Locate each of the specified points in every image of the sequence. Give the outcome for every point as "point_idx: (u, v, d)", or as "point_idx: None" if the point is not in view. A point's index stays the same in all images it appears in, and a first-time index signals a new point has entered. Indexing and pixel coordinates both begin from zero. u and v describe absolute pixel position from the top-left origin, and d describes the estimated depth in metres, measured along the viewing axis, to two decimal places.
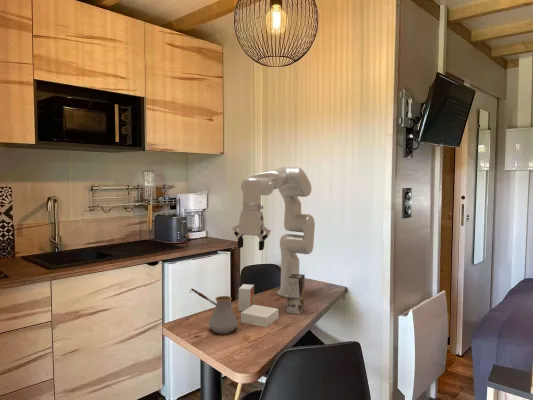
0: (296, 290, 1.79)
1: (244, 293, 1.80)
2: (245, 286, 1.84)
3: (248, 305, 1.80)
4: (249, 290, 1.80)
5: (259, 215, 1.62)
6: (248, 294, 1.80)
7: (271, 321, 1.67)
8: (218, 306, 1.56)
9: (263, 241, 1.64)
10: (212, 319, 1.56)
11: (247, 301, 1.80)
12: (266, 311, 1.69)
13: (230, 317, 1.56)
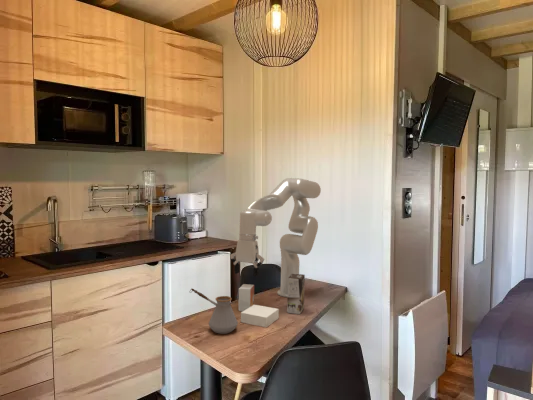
0: (296, 290, 1.79)
1: (244, 293, 1.80)
2: (245, 286, 1.84)
3: (248, 305, 1.80)
4: (249, 290, 1.80)
5: (254, 244, 1.80)
6: (248, 294, 1.80)
7: (271, 321, 1.67)
8: (218, 306, 1.56)
9: (257, 268, 1.81)
10: (212, 319, 1.56)
11: (247, 301, 1.80)
12: (266, 311, 1.69)
13: (230, 317, 1.56)
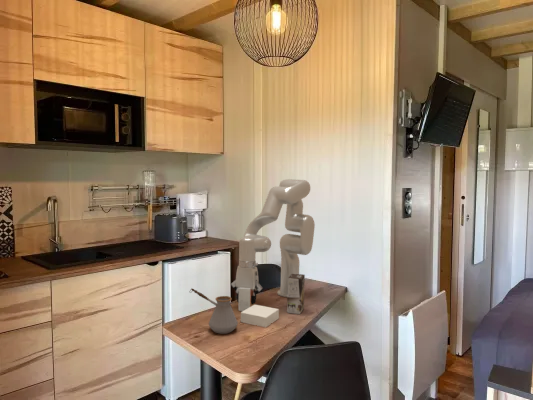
0: (296, 290, 1.79)
1: (244, 293, 1.80)
2: None
3: (248, 305, 1.80)
4: (249, 290, 1.80)
5: (254, 271, 1.81)
6: (248, 294, 1.80)
7: (271, 321, 1.67)
8: (218, 306, 1.56)
9: (255, 296, 1.82)
10: (212, 319, 1.56)
11: (247, 301, 1.80)
12: (266, 311, 1.69)
13: (230, 317, 1.56)
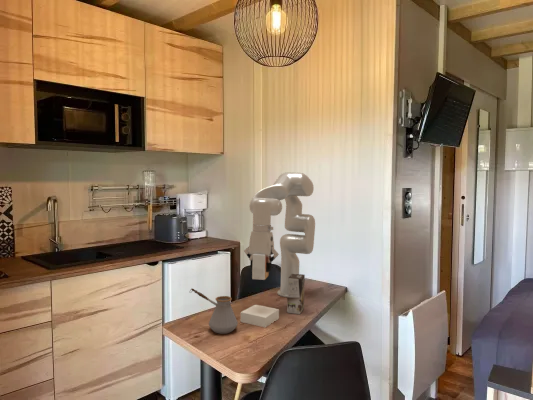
0: (296, 290, 1.79)
1: (258, 259, 1.65)
2: None
3: (263, 273, 1.65)
4: (264, 256, 1.65)
5: (269, 236, 1.66)
6: (263, 261, 1.65)
7: (270, 321, 1.67)
8: (218, 306, 1.56)
9: (270, 263, 1.67)
10: (212, 319, 1.56)
11: (262, 268, 1.65)
12: (266, 311, 1.69)
13: (230, 317, 1.56)
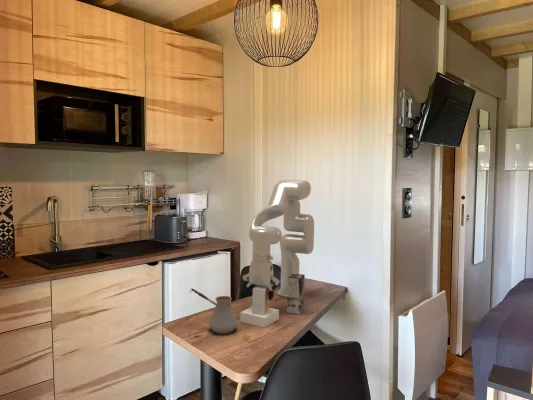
0: (296, 290, 1.79)
1: (258, 294, 1.66)
2: (260, 286, 1.70)
3: (262, 307, 1.66)
4: (264, 291, 1.65)
5: (269, 266, 1.66)
6: (263, 295, 1.66)
7: (270, 322, 1.67)
8: (218, 306, 1.56)
9: (272, 291, 1.67)
10: (212, 319, 1.56)
11: (261, 303, 1.66)
12: (266, 312, 1.69)
13: (230, 317, 1.56)
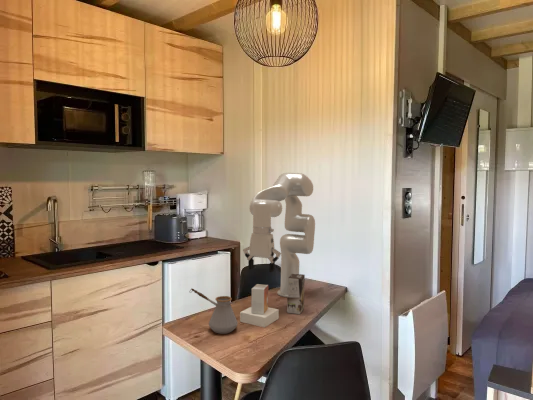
0: (296, 290, 1.79)
1: (257, 294, 1.66)
2: (258, 286, 1.70)
3: (262, 307, 1.66)
4: (263, 290, 1.66)
5: (269, 238, 1.65)
6: (262, 295, 1.66)
7: (270, 321, 1.67)
8: (218, 306, 1.56)
9: (273, 263, 1.67)
10: (212, 319, 1.56)
11: (261, 302, 1.66)
12: (265, 312, 1.69)
13: (230, 317, 1.56)
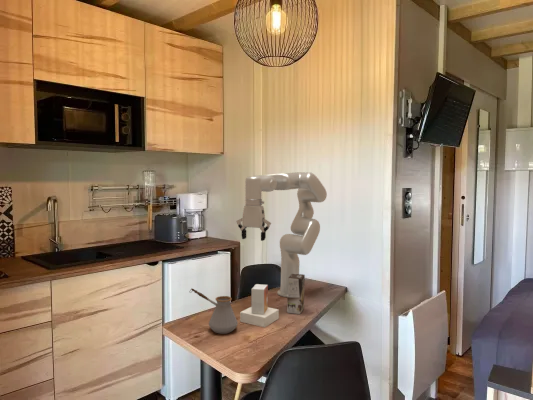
0: (296, 290, 1.79)
1: (257, 294, 1.66)
2: (258, 286, 1.70)
3: (262, 307, 1.66)
4: (263, 290, 1.66)
5: (260, 209, 1.82)
6: (262, 295, 1.66)
7: (270, 321, 1.67)
8: (218, 306, 1.56)
9: (264, 232, 1.84)
10: (212, 319, 1.56)
11: (261, 302, 1.66)
12: (265, 312, 1.69)
13: (230, 317, 1.56)
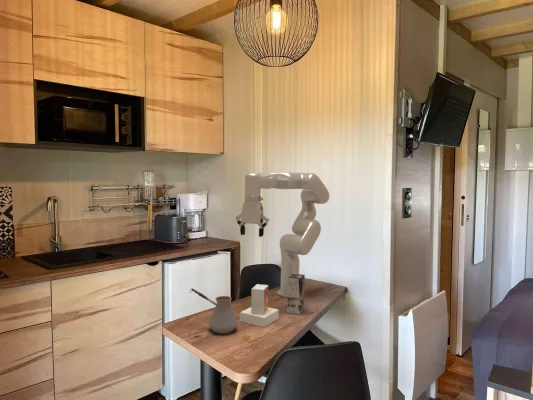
0: (296, 290, 1.79)
1: (257, 294, 1.66)
2: (258, 286, 1.70)
3: (261, 307, 1.66)
4: (263, 291, 1.66)
5: (259, 206, 1.85)
6: (261, 295, 1.66)
7: (270, 321, 1.67)
8: (218, 306, 1.56)
9: (263, 229, 1.86)
10: (212, 319, 1.56)
11: (260, 303, 1.66)
12: (265, 312, 1.69)
13: (230, 317, 1.56)
